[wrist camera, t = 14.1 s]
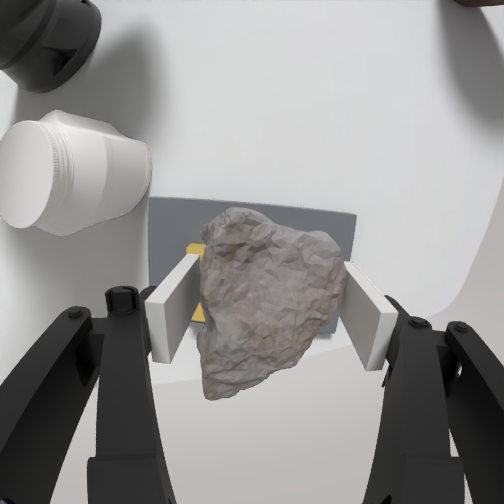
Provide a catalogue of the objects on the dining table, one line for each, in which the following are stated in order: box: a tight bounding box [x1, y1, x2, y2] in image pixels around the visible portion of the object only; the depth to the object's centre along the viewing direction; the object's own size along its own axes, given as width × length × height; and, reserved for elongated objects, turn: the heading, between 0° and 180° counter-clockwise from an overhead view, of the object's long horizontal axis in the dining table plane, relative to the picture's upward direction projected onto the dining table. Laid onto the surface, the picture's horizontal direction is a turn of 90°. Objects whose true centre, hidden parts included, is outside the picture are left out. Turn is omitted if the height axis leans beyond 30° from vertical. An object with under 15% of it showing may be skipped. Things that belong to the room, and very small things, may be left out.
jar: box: [0, 110, 152, 236], centre depth 23 cm, size 12×10×15 cm
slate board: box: [148, 196, 357, 333], centre depth 32 cm, size 22×14×1 cm, turn 85°
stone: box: [197, 207, 346, 401], centre depth 15 cm, size 10×8×6 cm
